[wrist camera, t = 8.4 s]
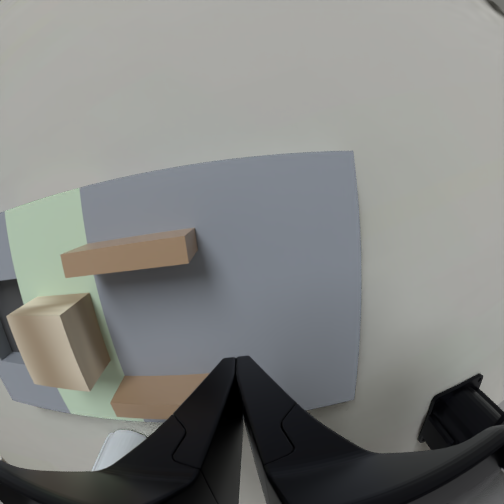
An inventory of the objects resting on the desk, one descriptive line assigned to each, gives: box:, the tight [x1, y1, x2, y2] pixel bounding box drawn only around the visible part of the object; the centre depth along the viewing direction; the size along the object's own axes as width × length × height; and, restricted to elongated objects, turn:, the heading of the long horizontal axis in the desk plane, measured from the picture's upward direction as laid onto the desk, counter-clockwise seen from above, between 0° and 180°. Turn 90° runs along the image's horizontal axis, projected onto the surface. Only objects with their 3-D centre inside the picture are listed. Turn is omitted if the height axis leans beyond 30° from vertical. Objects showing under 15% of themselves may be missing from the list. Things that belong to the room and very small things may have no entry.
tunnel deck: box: [0, 151, 361, 422], centre depth 13 cm, size 26×14×4 cm, turn 96°
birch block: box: [6, 293, 111, 392], centre depth 11 cm, size 4×4×3 cm
